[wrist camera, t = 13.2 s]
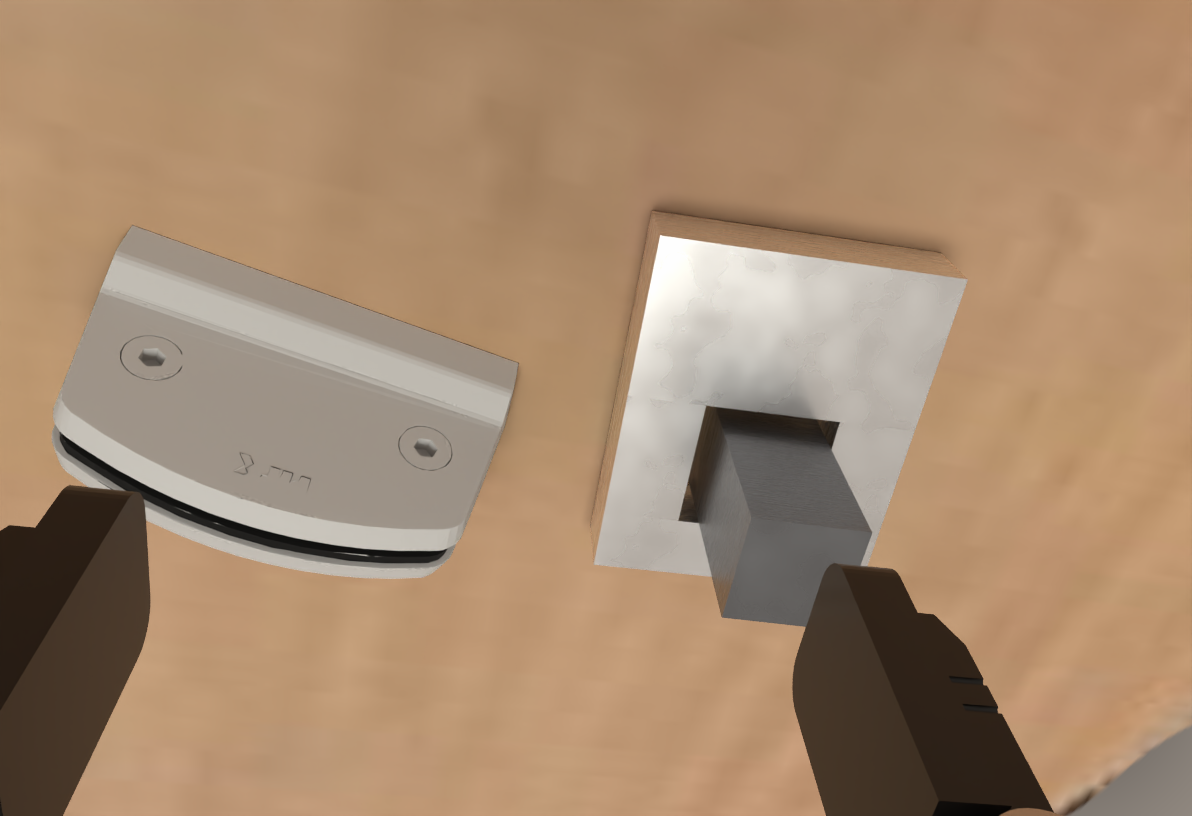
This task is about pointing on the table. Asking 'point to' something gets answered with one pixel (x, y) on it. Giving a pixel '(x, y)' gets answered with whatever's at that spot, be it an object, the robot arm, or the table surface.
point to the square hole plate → (764, 368)
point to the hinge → (278, 415)
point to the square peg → (771, 513)
